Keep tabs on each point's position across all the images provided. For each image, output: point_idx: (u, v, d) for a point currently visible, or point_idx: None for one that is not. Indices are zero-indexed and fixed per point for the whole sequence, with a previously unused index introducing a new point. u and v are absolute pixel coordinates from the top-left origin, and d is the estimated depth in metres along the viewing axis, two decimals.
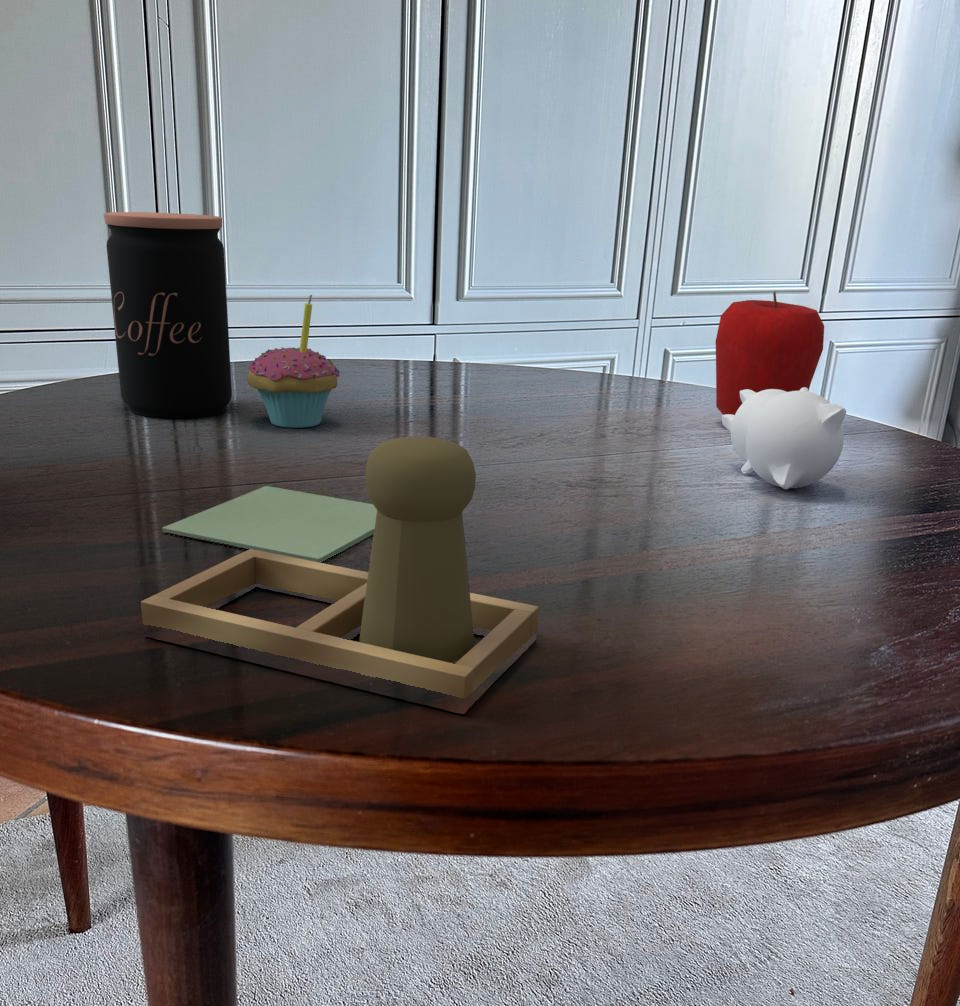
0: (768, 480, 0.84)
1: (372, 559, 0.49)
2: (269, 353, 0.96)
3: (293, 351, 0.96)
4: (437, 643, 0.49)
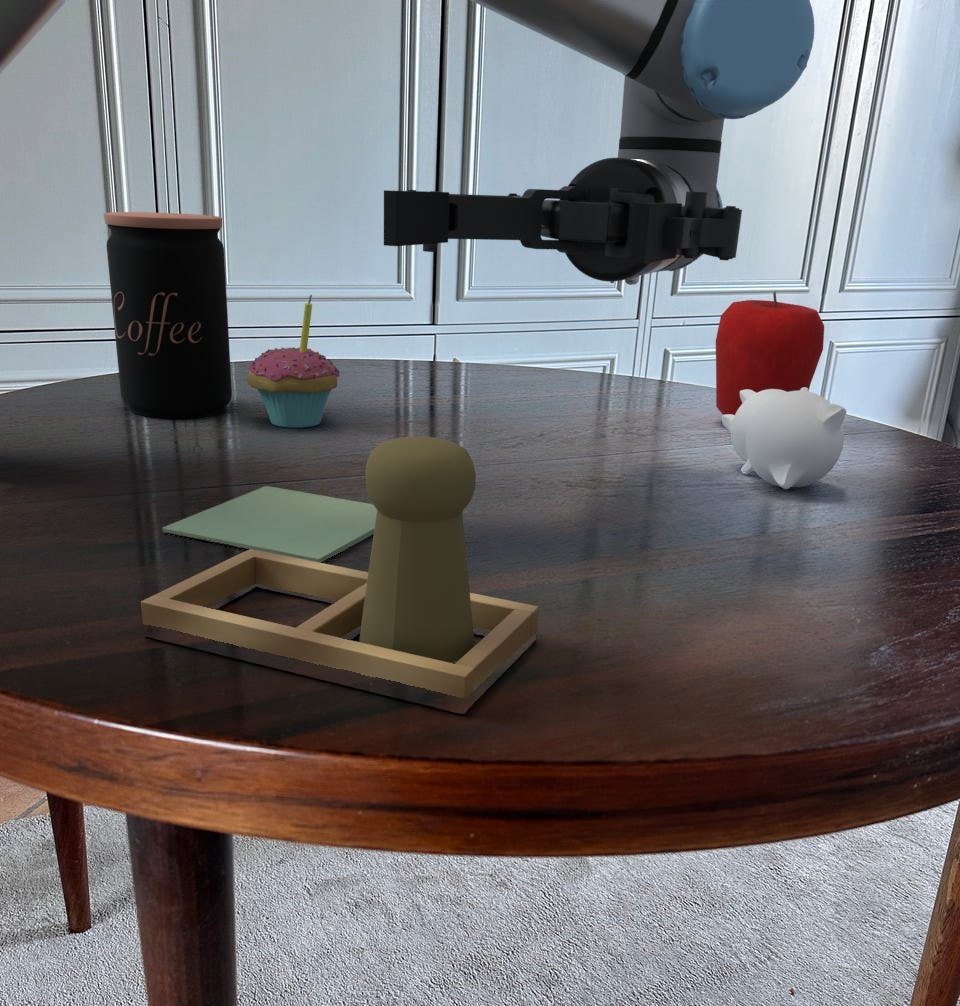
0: (768, 480, 0.84)
1: (372, 559, 0.49)
2: (269, 353, 0.96)
3: (293, 351, 0.96)
4: (437, 643, 0.49)
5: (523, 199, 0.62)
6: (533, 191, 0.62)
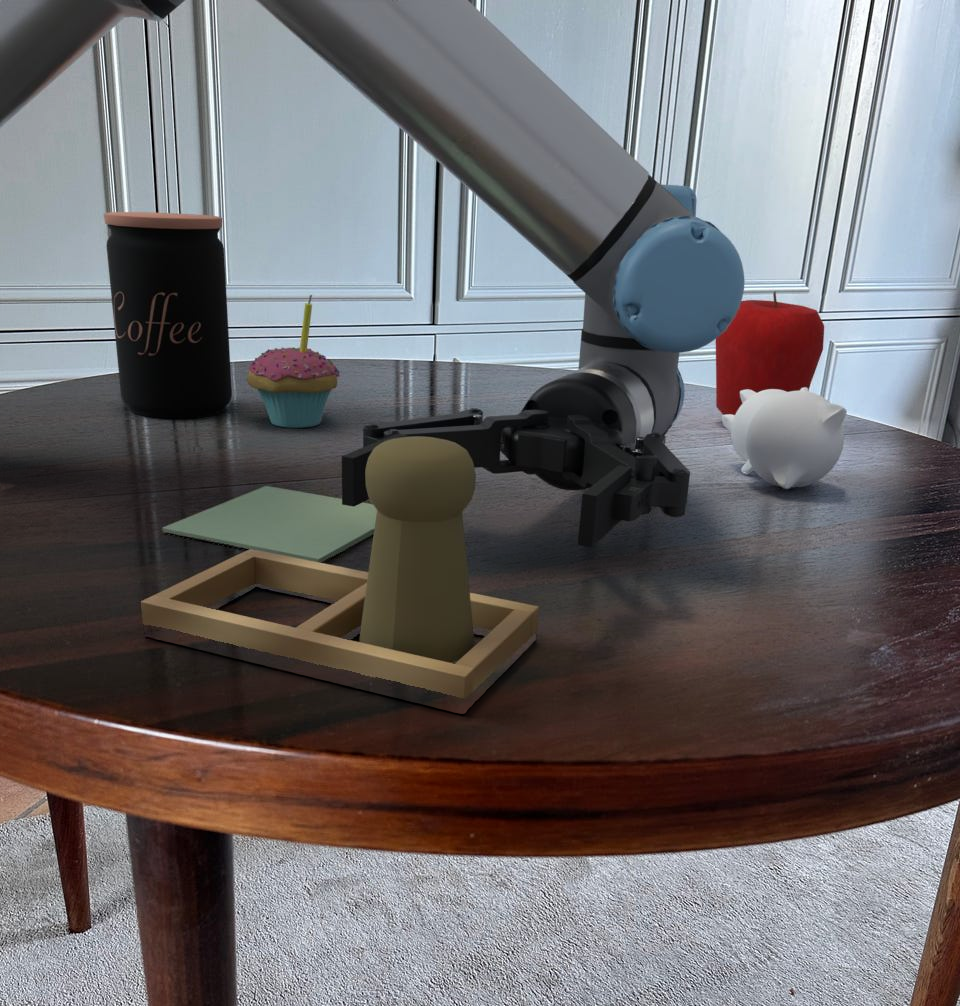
0: (768, 480, 0.84)
1: (372, 559, 0.49)
2: (269, 353, 0.96)
3: (293, 351, 0.96)
4: (437, 643, 0.49)
5: (482, 430, 0.63)
6: (492, 422, 0.64)
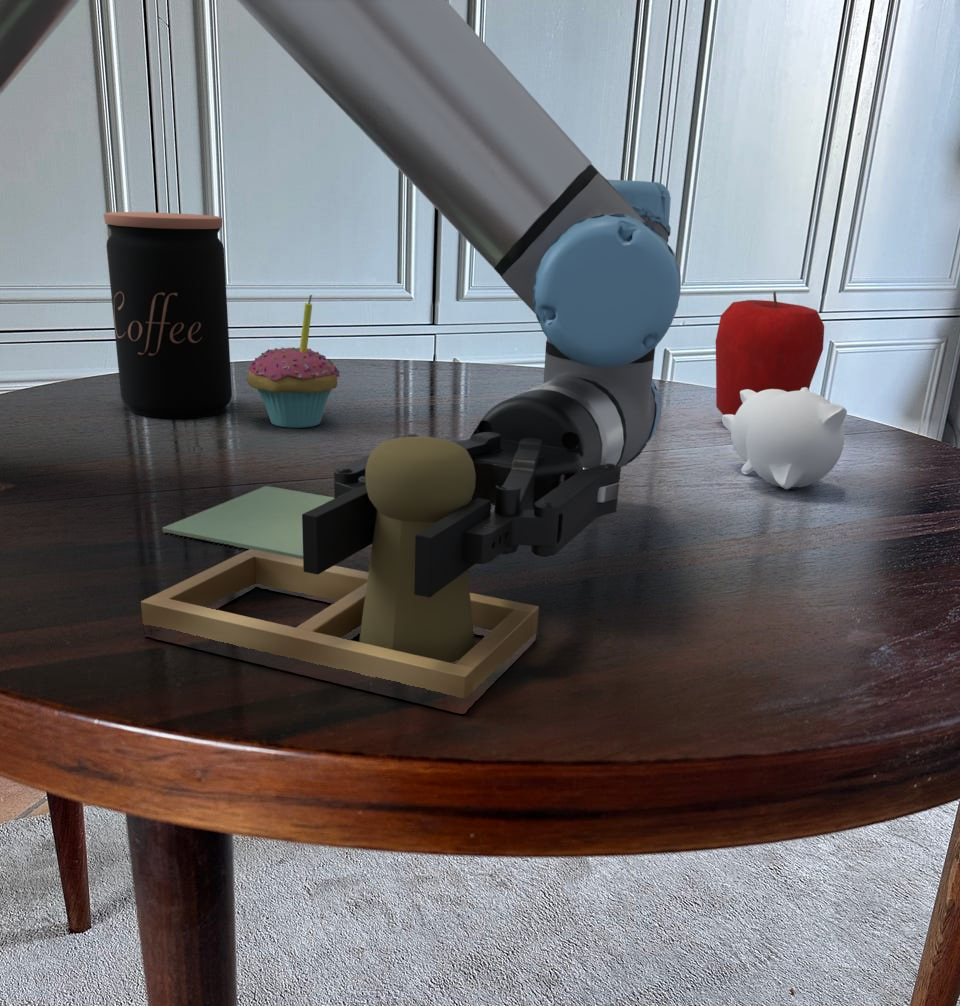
0: (769, 480, 0.84)
1: (372, 559, 0.49)
2: (269, 353, 0.96)
3: (293, 351, 0.96)
4: (437, 643, 0.49)
5: None
6: None
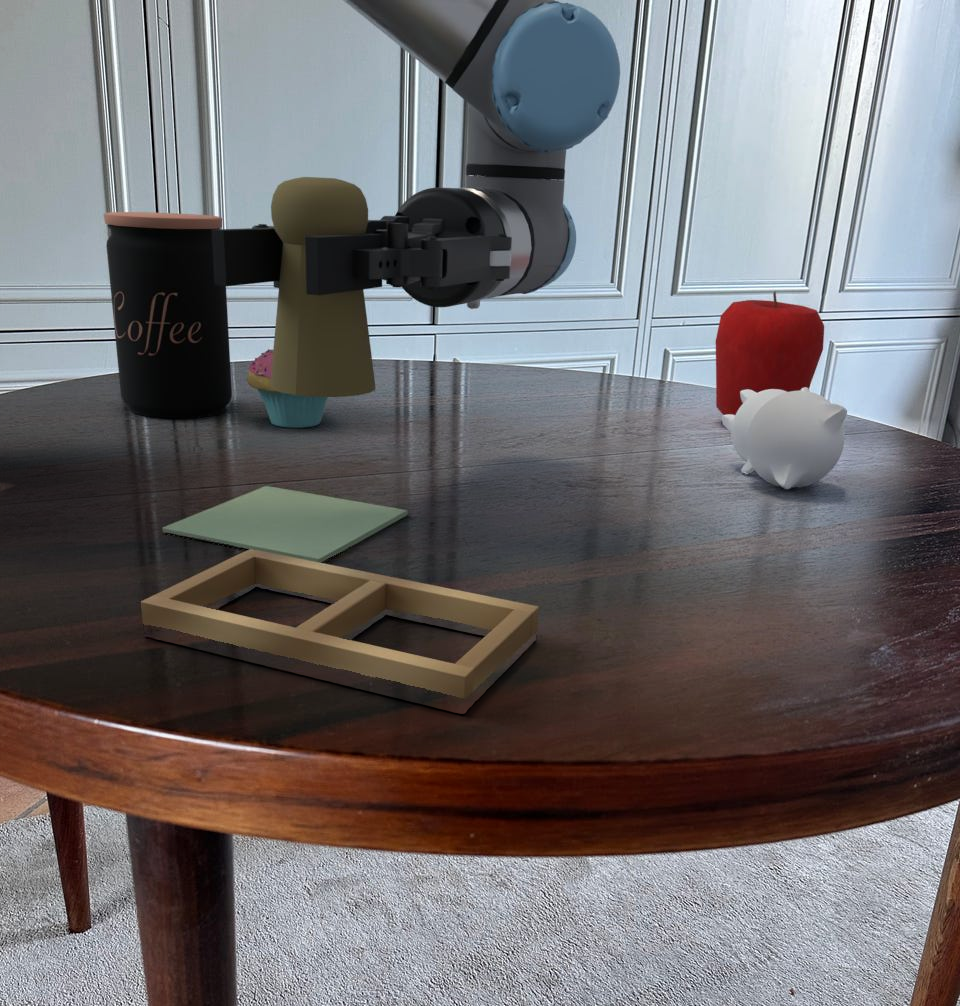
0: (769, 480, 0.84)
1: (279, 288, 0.56)
2: (269, 353, 0.96)
3: None
4: (336, 362, 0.56)
5: None
6: None
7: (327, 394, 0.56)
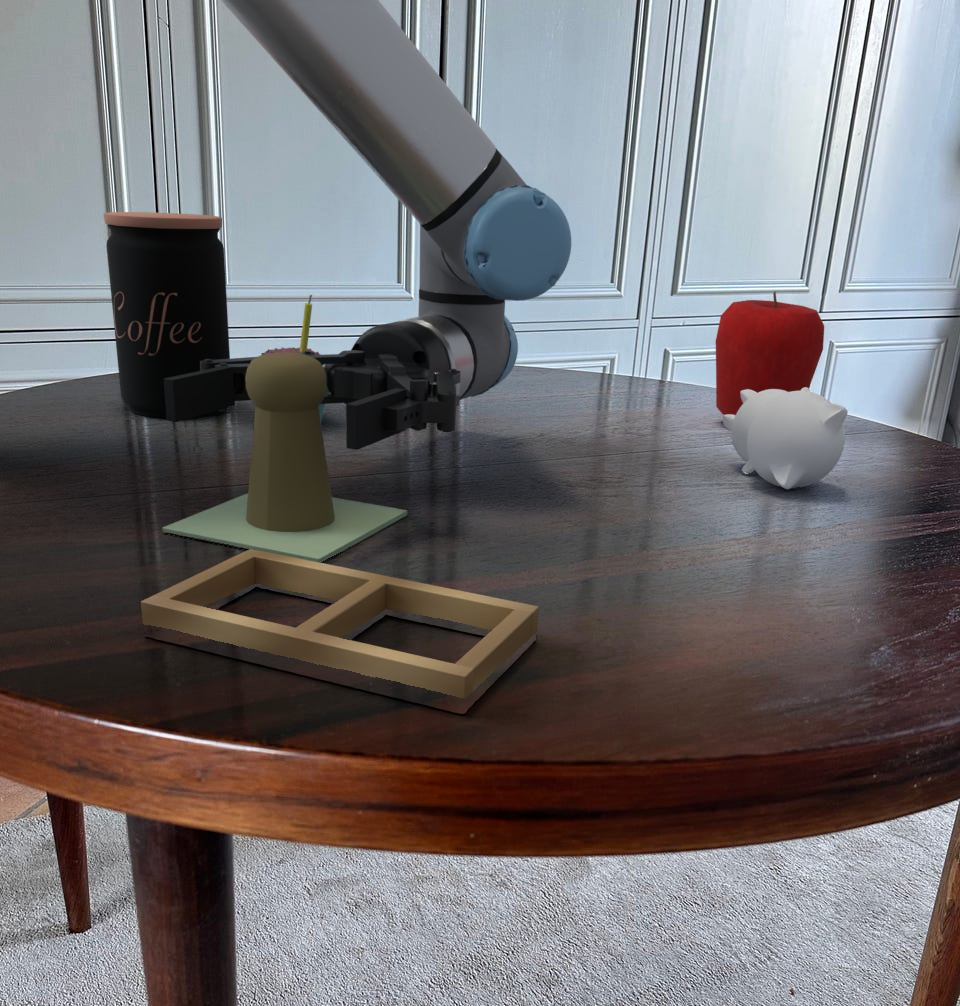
0: (769, 480, 0.84)
1: (253, 442, 0.68)
2: (269, 353, 0.96)
3: (293, 351, 0.96)
4: (300, 503, 0.67)
5: None
6: None
7: (293, 529, 0.68)
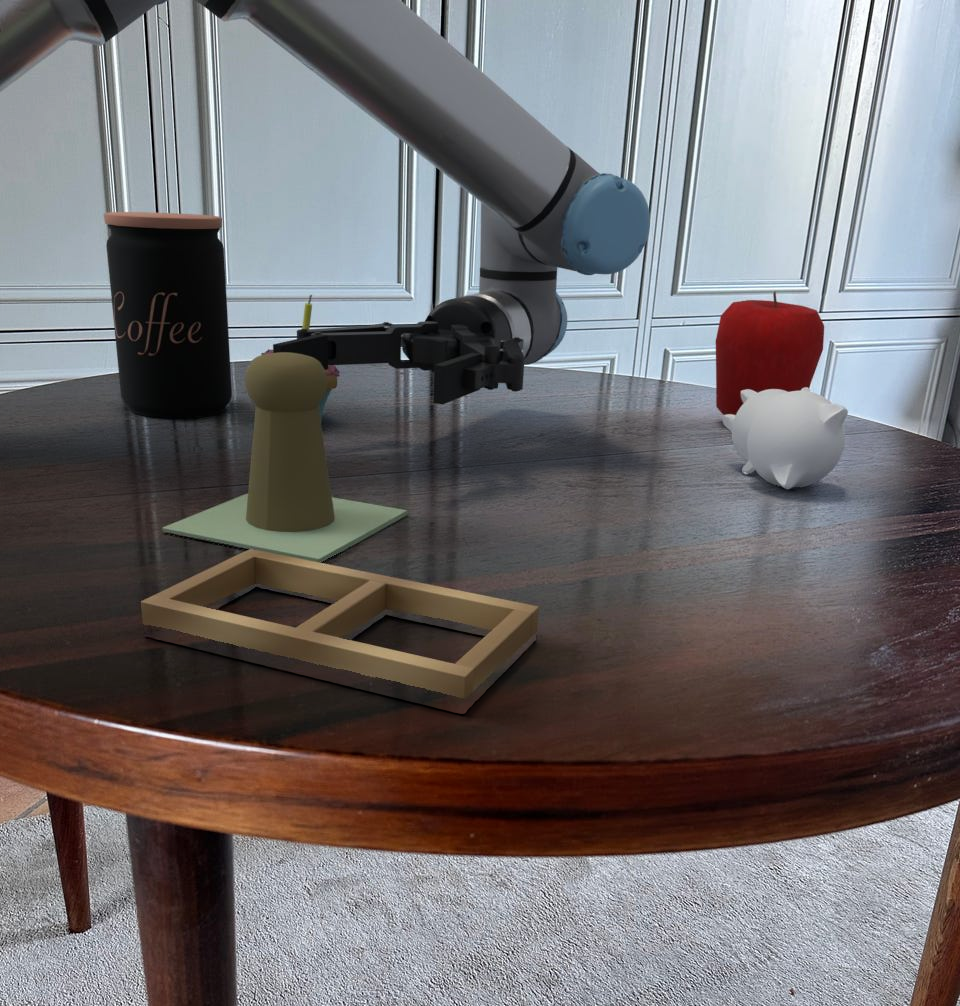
0: (769, 480, 0.84)
1: (253, 442, 0.68)
2: (269, 353, 0.96)
3: None
4: (300, 503, 0.67)
5: (385, 335, 0.85)
6: (393, 328, 0.86)
7: (293, 529, 0.68)
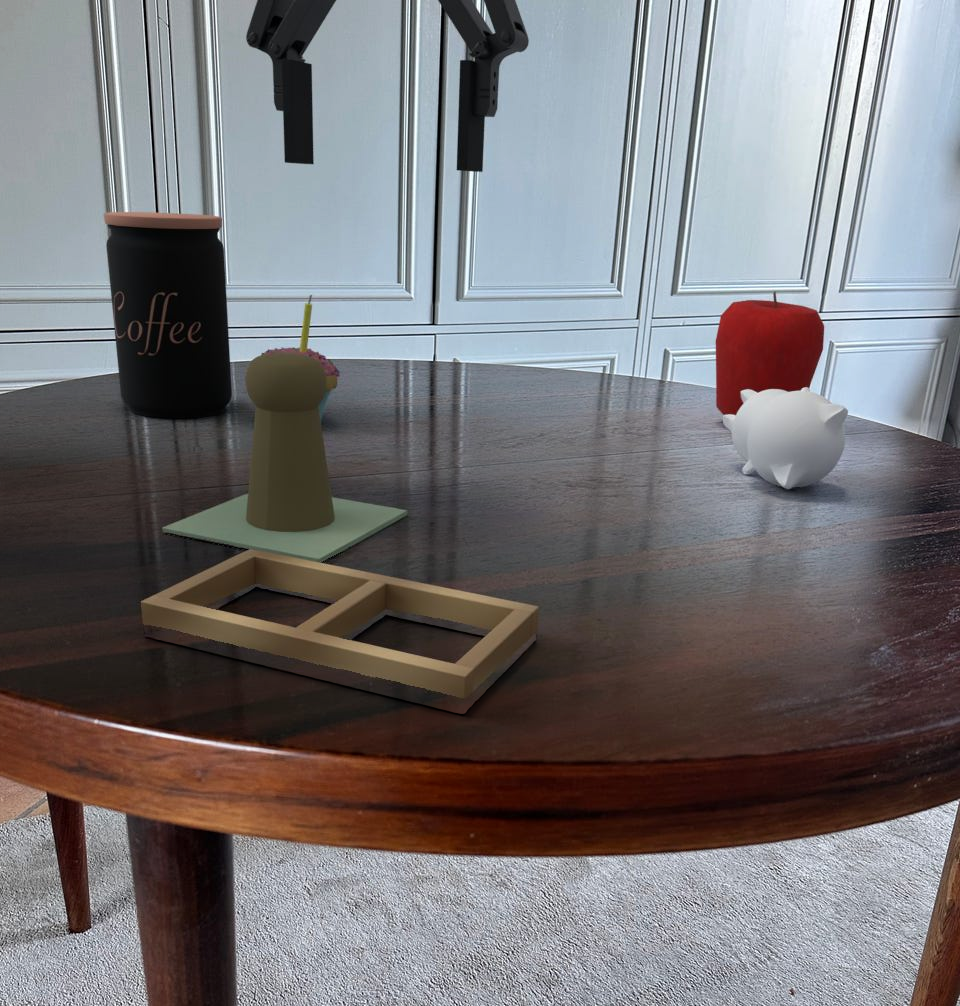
0: (770, 480, 0.84)
1: (253, 442, 0.68)
2: (269, 353, 0.96)
3: (293, 351, 0.96)
4: (300, 503, 0.67)
5: None
6: None
7: (293, 529, 0.68)
